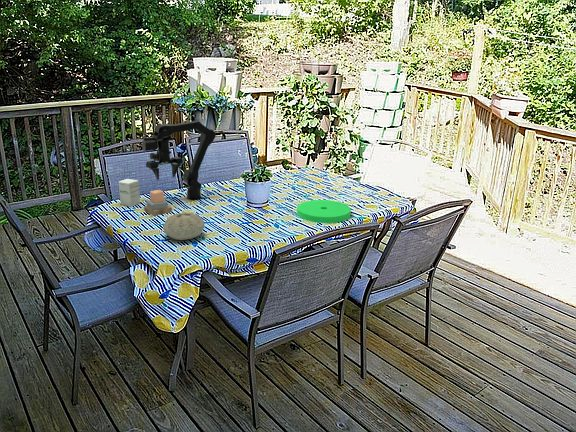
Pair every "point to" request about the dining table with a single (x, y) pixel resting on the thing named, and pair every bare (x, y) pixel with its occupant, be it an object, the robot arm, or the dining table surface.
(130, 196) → the supplement box
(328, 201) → the disc
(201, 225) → the decorative shell
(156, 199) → the terracotta cube
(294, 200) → the dining table surface
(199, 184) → the robot arm
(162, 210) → the walnut slab
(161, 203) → the grey square block
